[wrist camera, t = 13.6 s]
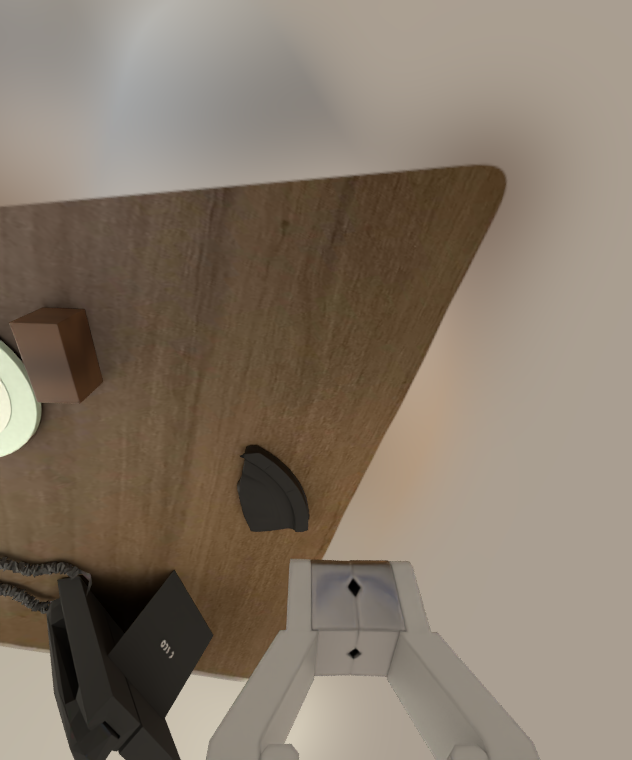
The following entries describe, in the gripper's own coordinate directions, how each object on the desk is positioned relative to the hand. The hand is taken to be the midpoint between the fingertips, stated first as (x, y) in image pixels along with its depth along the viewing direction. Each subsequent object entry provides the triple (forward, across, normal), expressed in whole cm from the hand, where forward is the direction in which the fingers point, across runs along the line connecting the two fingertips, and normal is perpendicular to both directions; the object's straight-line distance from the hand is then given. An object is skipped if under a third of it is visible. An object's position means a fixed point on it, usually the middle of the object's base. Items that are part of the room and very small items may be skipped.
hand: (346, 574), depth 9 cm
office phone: (+29, +31, +50) cm, 66 cm away
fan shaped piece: (+29, +4, +26) cm, 39 cm away
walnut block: (+29, +24, +7) cm, 39 cm away
